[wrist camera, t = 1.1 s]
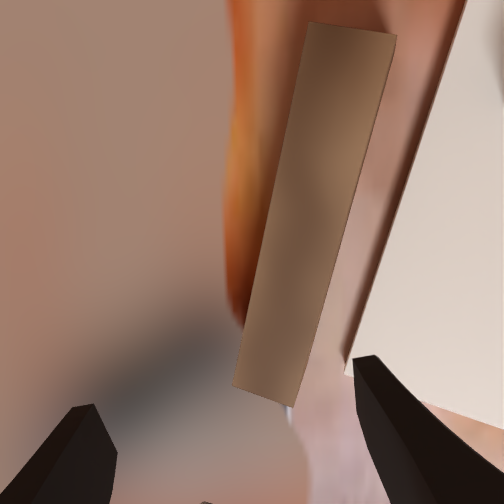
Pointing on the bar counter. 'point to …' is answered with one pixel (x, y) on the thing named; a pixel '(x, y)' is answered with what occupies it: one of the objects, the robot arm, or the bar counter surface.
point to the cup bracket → (449, 239)
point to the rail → (311, 202)
